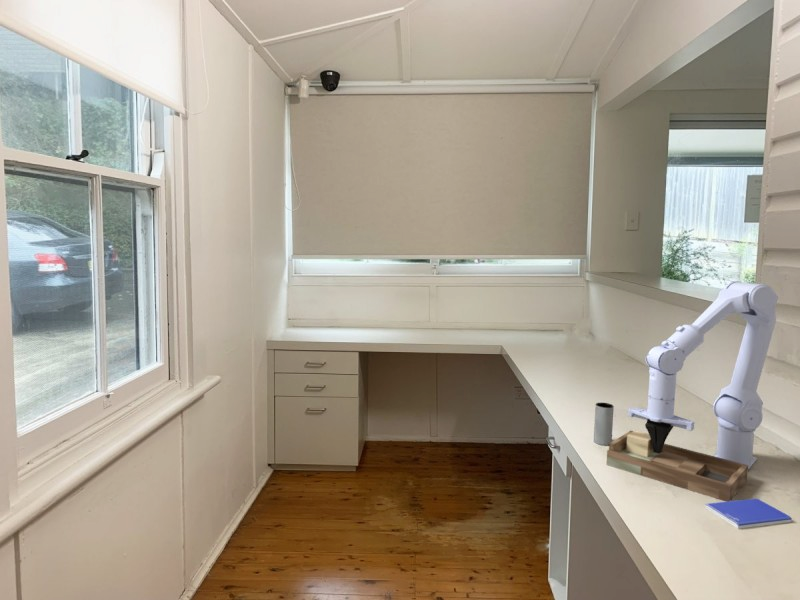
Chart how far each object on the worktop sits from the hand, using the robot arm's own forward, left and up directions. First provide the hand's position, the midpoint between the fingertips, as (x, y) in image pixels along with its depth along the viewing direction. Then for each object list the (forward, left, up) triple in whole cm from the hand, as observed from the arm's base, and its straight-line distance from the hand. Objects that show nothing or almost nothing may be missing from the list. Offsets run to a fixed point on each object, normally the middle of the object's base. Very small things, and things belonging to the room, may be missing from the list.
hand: (657, 451), depth 130 cm
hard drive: (+13, +22, -4) cm, 25 cm away
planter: (-4, -15, -3) cm, 16 cm away
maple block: (0, -4, -1) cm, 4 cm away
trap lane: (+2, +5, -3) cm, 6 cm away
